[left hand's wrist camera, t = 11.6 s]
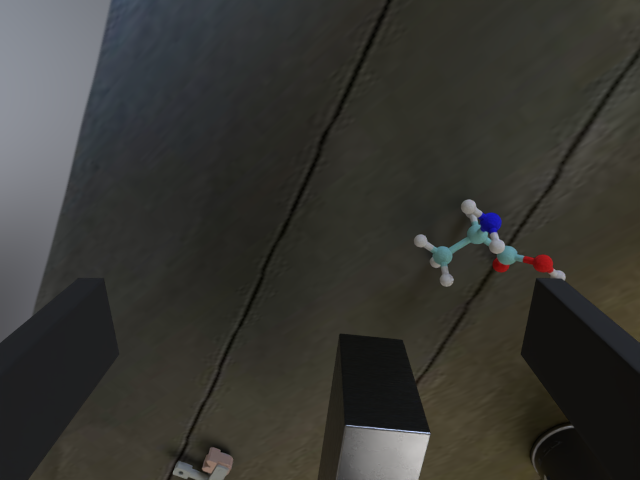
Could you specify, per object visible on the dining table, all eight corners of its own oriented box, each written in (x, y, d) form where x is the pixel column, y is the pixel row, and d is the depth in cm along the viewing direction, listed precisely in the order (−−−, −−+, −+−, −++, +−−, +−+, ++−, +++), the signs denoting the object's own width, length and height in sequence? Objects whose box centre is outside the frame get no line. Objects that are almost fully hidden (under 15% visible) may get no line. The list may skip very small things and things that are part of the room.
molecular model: (428, 322, 42) (478, 318, 33) (396, 233, 44) (435, 205, 34) (524, 288, 45) (598, 275, 35) (490, 205, 46) (553, 171, 36)
